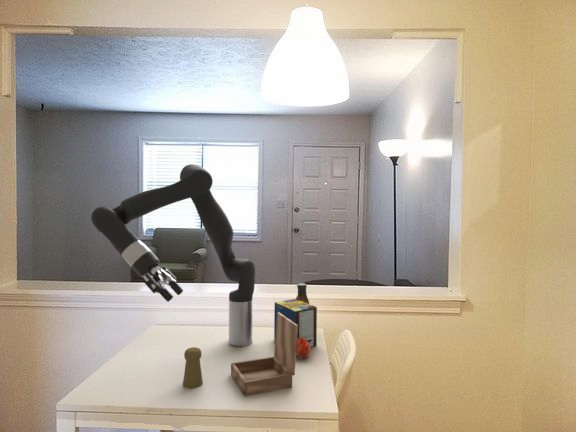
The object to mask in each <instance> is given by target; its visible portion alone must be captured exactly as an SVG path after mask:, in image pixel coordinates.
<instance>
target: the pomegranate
mask: <svg viewBox="0 0 576 432" xmlns="http://www.w3.org/2000/svg"><path fill="white" fill-rule="evenodd" d="M311 341H312V340H306V339H305V338H300V337H299V338H297V346H296V355H297V356H298V357H299V358H300V359H305V358H307V357H308V356H309V355H310V354H311V351H312V347H311V346H310V342H311Z"/></svg>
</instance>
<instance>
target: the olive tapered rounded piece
mask: <svg viewBox="0 0 576 432" xmlns="http://www.w3.org/2000/svg"><path fill="white" fill-rule="evenodd" d="M183 355H184V359H185V365H184V372H183V373H184V375H183V381H182V386H183V387H184V388H186V389H196V388H199V387H201V386H203V383H204V382H203V375H202V367H201V358H202V349H200V348H199V347H197V346H196V347H195V346H194V347H193V346H192V347H188V348H187V349H186V350H185V351H184V353H183Z"/></svg>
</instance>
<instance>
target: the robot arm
mask: <svg viewBox="0 0 576 432" xmlns="http://www.w3.org/2000/svg"><path fill="white" fill-rule="evenodd" d="M213 182H214V181H213V176H212V175H211V173H210V172H209V171H208V170H206V169H205V168H203V167H202V166H200V165H199V164H198V165H197V164H192V163H191V164H187V165H185V166H184V167H183V168H182V169H181V170H180V174H179V180H178V181H177V182H174V183H172V184H169V185H166V186H162V187H158V188H153V189H148V190H145V191H142V192H139V193H137V194H134V195H132V196H130V197H127V198H125V199H123V200H122V201H121V202H120V204H119V205H118V206H116V207H115V208H111V207H107V206H99V207H96V208H95V209H94V210H93V211H92V212H91V215H90V216H91V217H90V220H91V223H92V225H93V226H94V228H95V230H97V231H98V232H99V233H101V234H102V235H103V236H104V237H105V238H106V239H107V240H108V241H109V242H110V243H111V245H112V246H113V248H114V249H115V250H116V251H117V252H118V253H119V254H120V255H121V256H122V258H123V260H125V262H126V263H127V264H128V266H130V267H131V268H132V269H133V271H134V272H135V273H136V274H137V275H138V276H139V277H140V278H141V281H142V282H143V283H144V284H145V285H146V287H147V288H148V289H149V290H150V291H151V292H152V294H156V293H157V294H160V296H161V297H162V298H163V299H164V300H165V301H166V302H170V301H171V300H172V299H173V298H174V295H173V294H171V292H170V291H169V290H168V289H167V288H166V287H165V285H167V286H169V287H170V289H172V290H173V292H174V293H175V294H176V295H177V296H180V295H181V294H182V293H183V292H184V289H183V288H182V287H181V286H180V285H179V284H178V282H177V280H178V279H177V277H176V276H175V274H174V273H172V271H171V270H170V269H169V268H168V267H167V266H165V265H163V266H162V267H160V266H159V264H160V263H161V261H160V259H159V258H158V257H157V255H155V253H154V252H153V251H152V250H151V249H150V248H149V247H148V246H147V245H146V244H145V243H143V241H142V240H140V238H138V237H137V236H136V234H135V233H134V232H133V231H132V230H130V229H129V228H128V226H126V225H128V224H129V223H130V222H132V221H134V220H136V219H139V218H141V217H144V216H146V215H148V214H149V213H151V212H154V211H157V210H158V209H162V208H163V207H167V206H169V205H172V204H175V203H177V202H181V201H184V200H186V199H191V201H192V204H194V207H195V210H196V211H197V214H198V217H199V219H200V221H201V224H202V226H203V228H204V231H205V232H206V235H207V237H208V238H209V240H210V242H211V244H212V246H213V249H214V250H215V253H216V255H217V256H218V260H219V262H220V264H221V267H222V271H223V273H224V275H225V277H226V278H227V280H228V281H231V282H235V283H238V287H237V289H235V290H232V291H230V292H228V293H229V294H228V344H229V345H231V346H233V347H246V346H250V345H251V344H252V343H253V297H254V296H253V295H254V292H255V282H256V281H255V280H256V267H255V264H254V262H253V261H252V260H250V259H245V258H238V257H237V256H236V254H235V253H234V251H233V246H232V243H233V238H234V229H233V227H232V224H231V222H230V220H229V218H228V216H227V215H226V213H225V211H224V209H223V208H222V207H221V205H220V204H219V203H218V201H217V200H216V198H215V197H214V195H213V193H212V192H211V188H212V187H213Z"/></svg>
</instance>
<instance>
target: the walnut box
mask: <svg viewBox="0 0 576 432" xmlns="http://www.w3.org/2000/svg"><path fill="white" fill-rule="evenodd" d="M230 376H231V378H232V379H233V380H234V382H235V383H236V385H237V386H238V387H239V389H240V391H241V393H242V394H243V396H244V397H246V396H252V395H257V394H262V393H267V392H268V393H269V392H274V391H278V390H279V391H280V390H283V389H290V388H292V387H293V376H292V374H291V373H290V372H289V371H288V370H287V369H286V368H285V367H284V366H283V365H282V364H281V363H280V362H279V361H278V360H277V359H276V358H275V357H274V356H268V357H261V358H256V359H255V358H254V359H248V360H243V361H237V362H236V361H234V362H231V363H230Z"/></svg>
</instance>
